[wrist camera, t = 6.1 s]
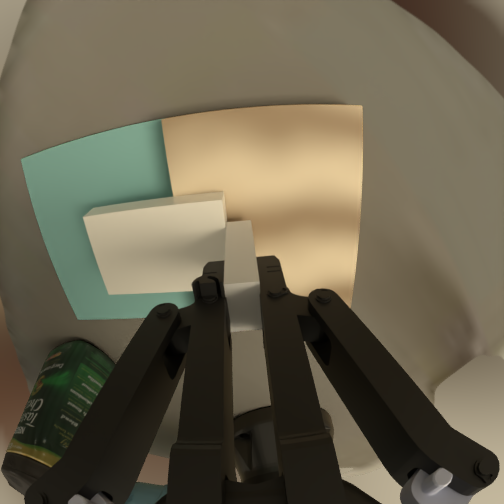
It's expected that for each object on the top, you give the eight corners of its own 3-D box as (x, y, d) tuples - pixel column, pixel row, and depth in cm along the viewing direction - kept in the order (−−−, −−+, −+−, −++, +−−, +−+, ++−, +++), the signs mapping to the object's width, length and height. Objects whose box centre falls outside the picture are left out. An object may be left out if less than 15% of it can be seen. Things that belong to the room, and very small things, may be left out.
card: (233, 275, 21) (233, 288, 19) (116, 282, 21) (108, 294, 19) (223, 191, 18) (222, 199, 16) (93, 207, 18) (82, 216, 16)
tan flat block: (340, 295, 25) (349, 313, 23) (205, 310, 25) (202, 330, 23) (347, 104, 18) (362, 105, 16) (170, 117, 18) (161, 119, 15)
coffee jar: (84, 327, 26) (22, 491, 10) (133, 374, 29) (103, 527, 13) (41, 350, 28) (-12, 476, 11) (85, 389, 31) (51, 511, 15)
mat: (201, 311, 25) (201, 314, 25) (79, 317, 25) (77, 319, 25) (165, 117, 18) (164, 118, 17) (23, 157, 17) (20, 159, 17)
